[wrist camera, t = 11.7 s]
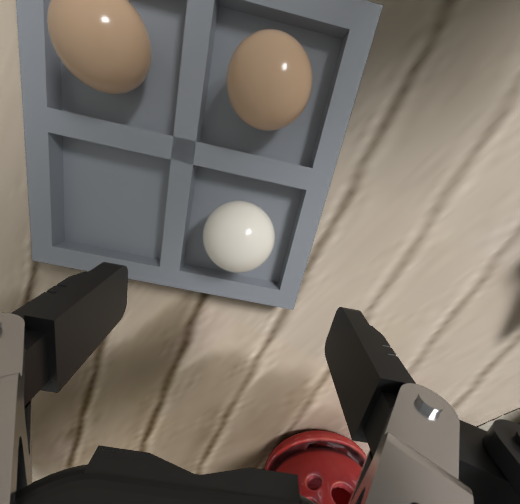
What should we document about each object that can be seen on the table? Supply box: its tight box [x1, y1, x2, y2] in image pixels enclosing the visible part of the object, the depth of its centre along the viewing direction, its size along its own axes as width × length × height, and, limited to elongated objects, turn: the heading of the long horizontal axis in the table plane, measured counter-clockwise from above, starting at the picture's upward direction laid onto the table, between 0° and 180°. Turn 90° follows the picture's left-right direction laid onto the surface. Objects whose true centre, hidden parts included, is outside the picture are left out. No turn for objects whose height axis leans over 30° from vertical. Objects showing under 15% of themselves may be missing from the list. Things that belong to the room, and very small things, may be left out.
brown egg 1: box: [47, 0, 152, 94], centre depth 15 cm, size 5×5×5 cm
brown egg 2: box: [226, 29, 313, 131], centre depth 16 cm, size 5×5×5 cm
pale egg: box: [203, 201, 275, 273], centre depth 19 cm, size 5×5×5 cm
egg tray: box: [16, 0, 383, 310], centre depth 19 cm, size 20×20×2 cm
